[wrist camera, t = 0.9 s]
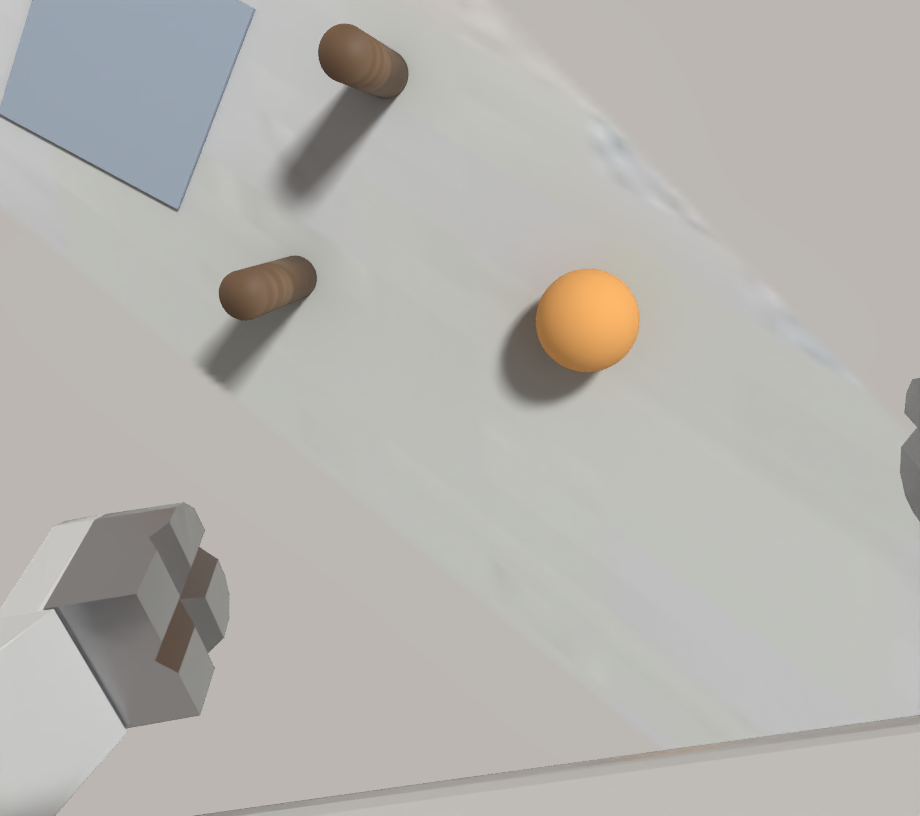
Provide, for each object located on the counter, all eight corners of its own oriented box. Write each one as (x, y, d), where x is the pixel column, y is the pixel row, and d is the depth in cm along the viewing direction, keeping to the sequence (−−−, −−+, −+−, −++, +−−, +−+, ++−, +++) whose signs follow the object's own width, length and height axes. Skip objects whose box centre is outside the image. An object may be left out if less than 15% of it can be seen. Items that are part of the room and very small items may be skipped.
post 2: (416, 62, 45) (380, 39, 38) (396, 106, 46) (357, 92, 38) (375, 41, 45) (331, 13, 38) (356, 85, 46) (309, 67, 38)
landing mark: (255, 9, 46) (253, 8, 46) (178, 209, 49) (177, 209, 49) (62, -94, 46) (60, -96, 46) (0, 113, 50) (-2, 113, 49)
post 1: (323, 268, 49) (274, 285, 41) (306, 305, 50) (255, 329, 42) (285, 248, 49) (229, 261, 42) (269, 285, 50) (211, 305, 42)
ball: (655, 293, 47) (663, 307, 41) (605, 377, 48) (607, 401, 43) (568, 246, 47) (565, 255, 41) (521, 331, 48) (513, 351, 43)
